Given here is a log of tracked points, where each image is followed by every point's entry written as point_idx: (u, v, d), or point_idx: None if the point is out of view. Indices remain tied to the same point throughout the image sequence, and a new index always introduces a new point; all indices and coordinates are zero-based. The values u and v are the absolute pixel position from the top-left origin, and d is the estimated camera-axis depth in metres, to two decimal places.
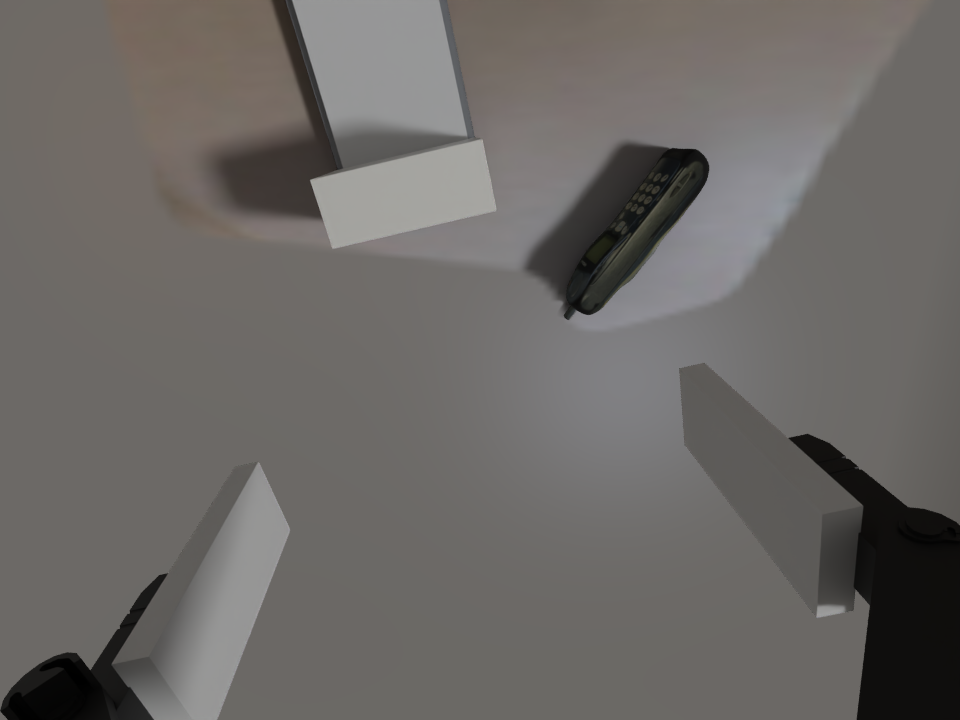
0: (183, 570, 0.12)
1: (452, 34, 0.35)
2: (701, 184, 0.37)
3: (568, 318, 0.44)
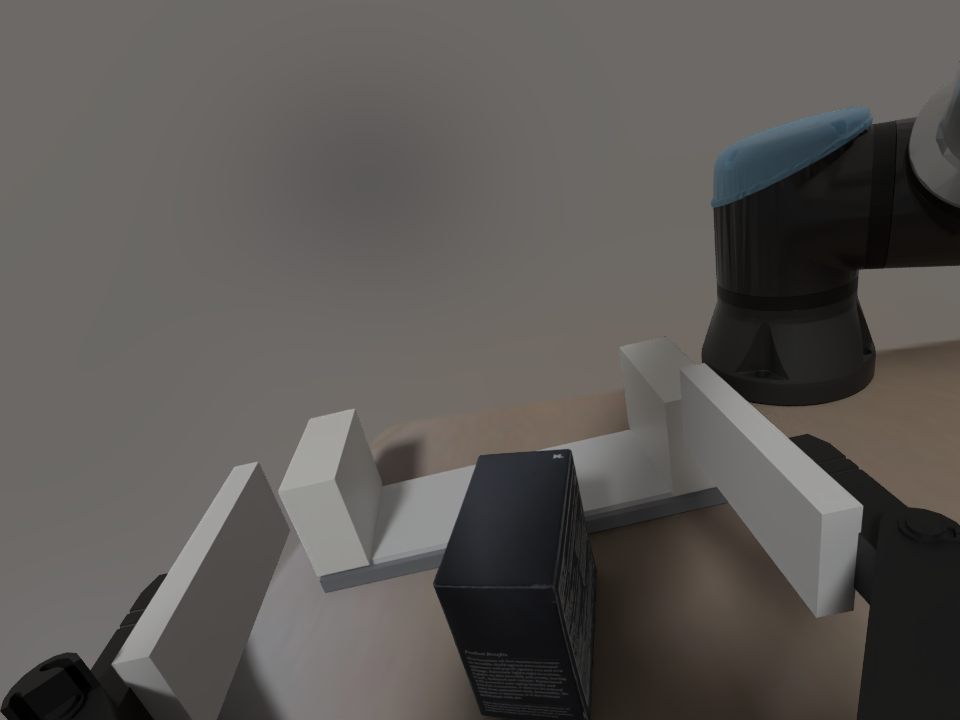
0: (183, 570, 0.12)
1: None
2: None
3: None
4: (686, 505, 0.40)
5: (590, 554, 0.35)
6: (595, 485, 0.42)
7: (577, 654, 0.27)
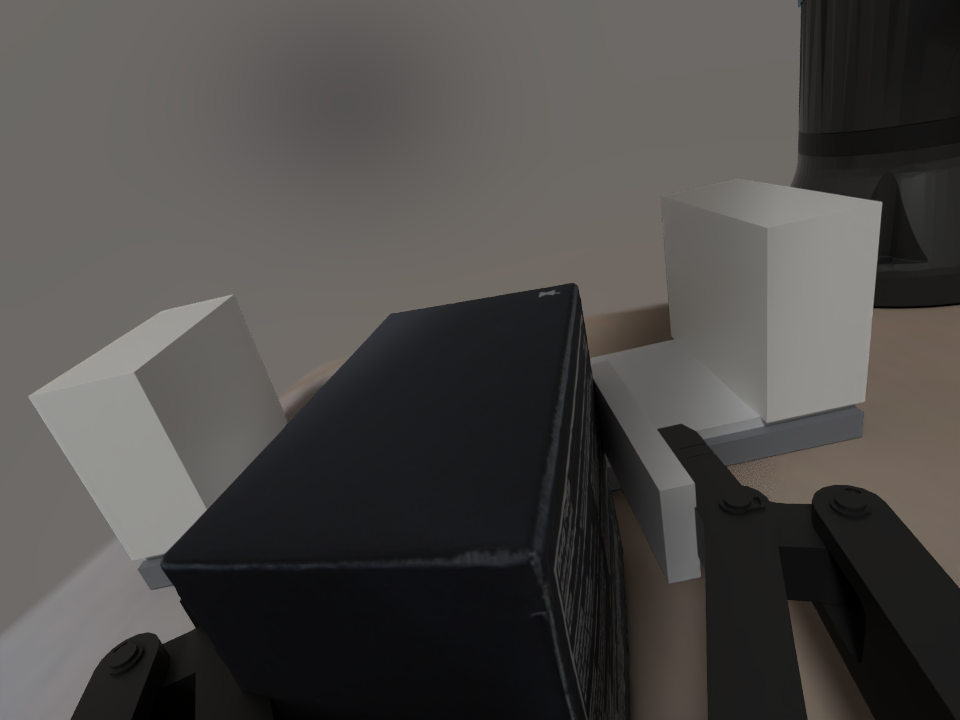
0: None
1: None
2: None
3: None
4: (789, 440, 0.22)
5: (613, 515, 0.18)
6: None
7: None
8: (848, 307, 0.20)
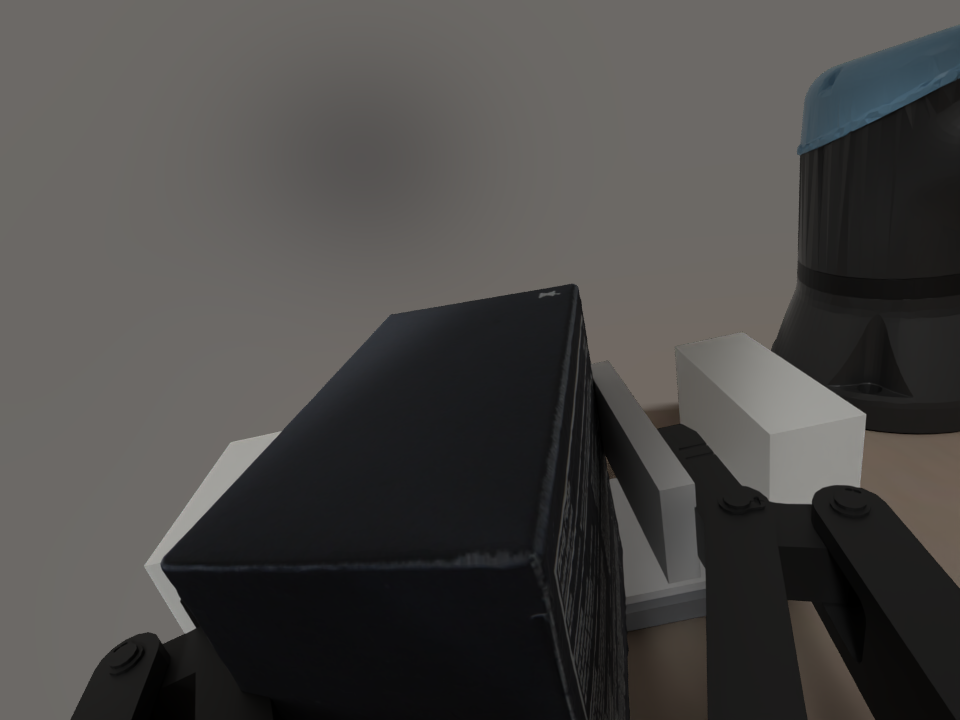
0: None
1: None
2: None
3: None
4: None
5: (613, 516, 0.18)
6: (642, 551, 0.28)
7: None
8: None
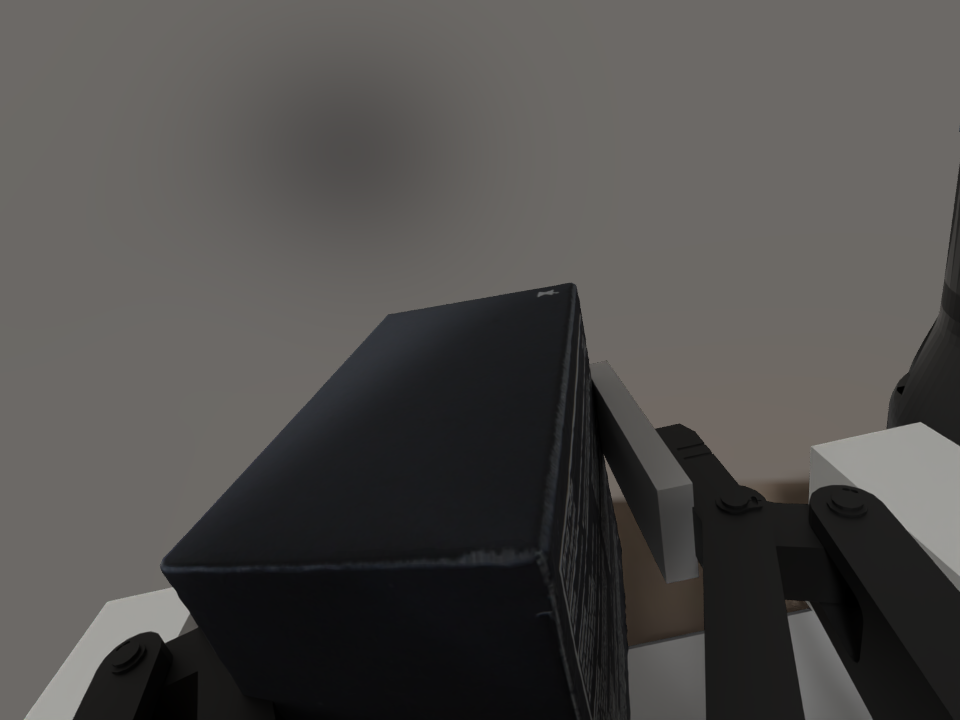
0: None
1: None
2: None
3: None
4: None
5: (612, 515, 0.18)
6: None
7: None
8: None
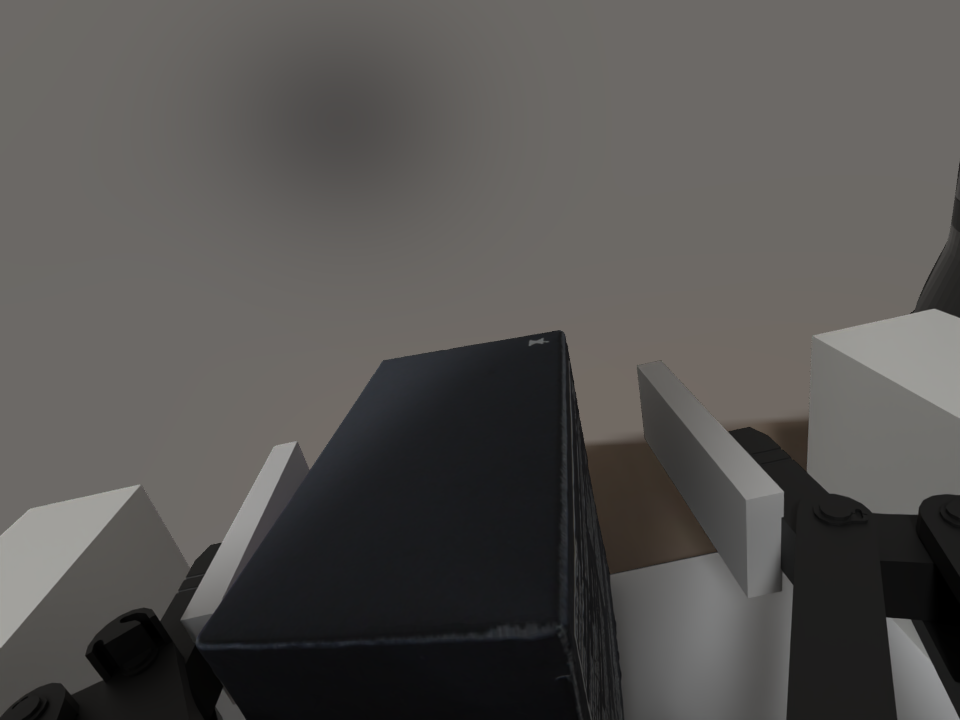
0: (237, 538, 0.13)
1: None
2: None
3: None
4: None
5: (601, 545, 0.19)
6: None
7: None
8: None
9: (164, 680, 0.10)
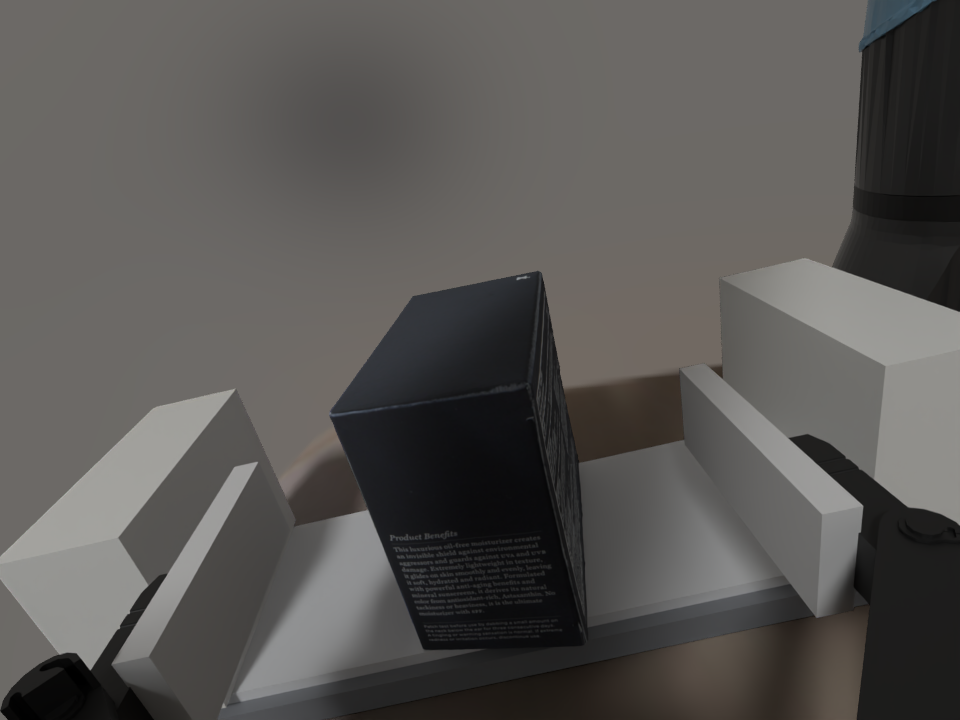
0: (183, 570, 0.12)
1: (404, 676, 0.19)
2: None
3: None
4: None
5: (571, 433, 0.26)
6: (686, 538, 0.21)
7: (566, 529, 0.17)
8: None
9: None
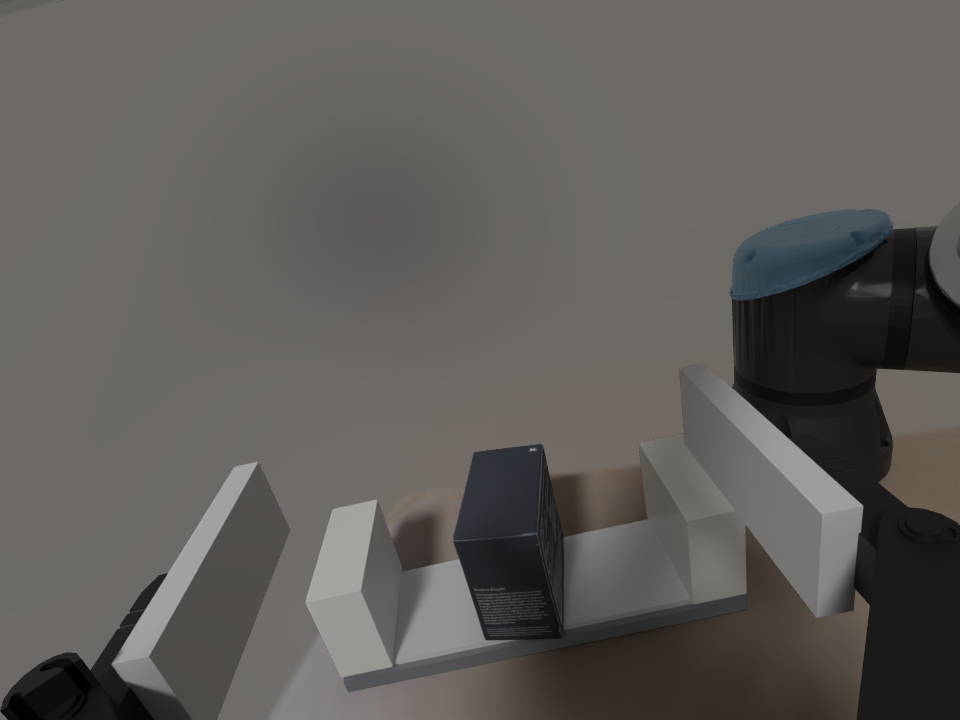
0: (183, 570, 0.12)
1: (476, 653, 0.40)
2: None
3: None
4: (706, 612, 0.40)
5: (558, 523, 0.47)
6: (615, 585, 0.43)
7: (553, 586, 0.38)
8: (732, 552, 0.38)
9: None
